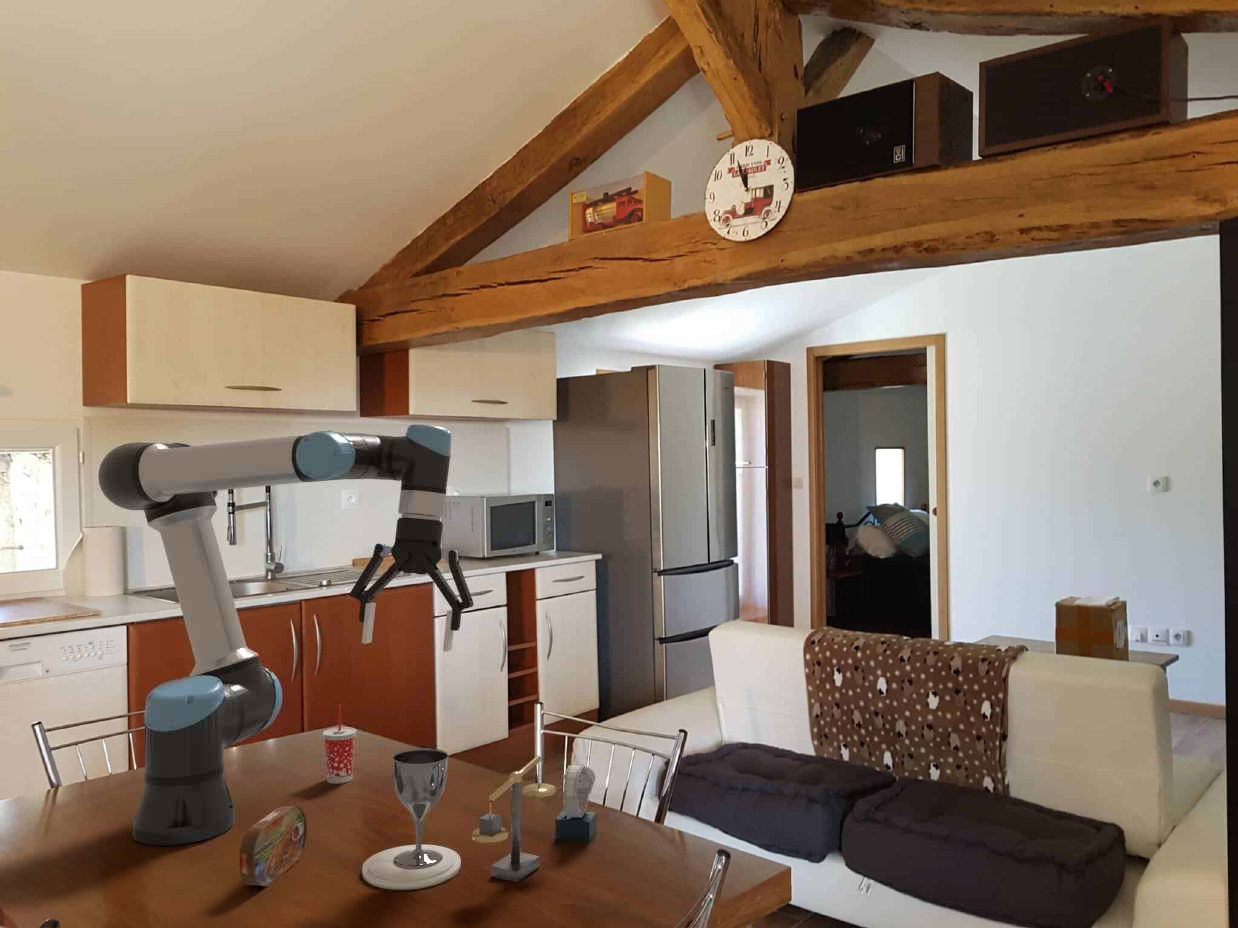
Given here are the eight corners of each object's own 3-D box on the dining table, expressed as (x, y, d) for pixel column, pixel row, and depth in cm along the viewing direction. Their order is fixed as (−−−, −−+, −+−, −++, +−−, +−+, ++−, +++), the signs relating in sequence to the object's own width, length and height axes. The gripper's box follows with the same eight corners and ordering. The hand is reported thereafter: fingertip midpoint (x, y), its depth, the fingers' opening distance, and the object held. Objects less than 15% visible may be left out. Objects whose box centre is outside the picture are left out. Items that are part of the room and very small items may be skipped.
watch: (599, 827, 157) (599, 759, 157) (586, 846, 149) (586, 774, 149) (566, 824, 158) (565, 757, 158) (551, 843, 150) (551, 772, 150)
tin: (255, 896, 131) (255, 834, 132) (234, 895, 132) (234, 833, 132) (308, 853, 146) (308, 797, 146) (289, 851, 147) (289, 796, 147)
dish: (341, 877, 137) (341, 869, 137) (405, 843, 150) (405, 836, 150) (419, 897, 131) (419, 889, 131) (479, 859, 144) (479, 852, 144)
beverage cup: (351, 784, 178) (351, 708, 178) (318, 784, 178) (318, 708, 178) (360, 774, 184) (360, 700, 184) (328, 774, 184) (328, 700, 184)
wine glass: (432, 872, 136) (435, 765, 137) (380, 866, 138) (383, 761, 138) (454, 850, 144) (456, 750, 144) (404, 845, 146) (406, 746, 146)
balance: (495, 899, 130) (495, 787, 130) (465, 892, 133) (464, 782, 133) (561, 852, 146) (561, 752, 146) (533, 846, 149) (533, 748, 149)
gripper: (498, 525, 163) (486, 651, 161) (355, 513, 166) (341, 637, 163) (489, 523, 156) (476, 655, 154) (339, 510, 158) (324, 641, 156)
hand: (406, 646), depth 159 cm, fingers open, 13 cm apart
